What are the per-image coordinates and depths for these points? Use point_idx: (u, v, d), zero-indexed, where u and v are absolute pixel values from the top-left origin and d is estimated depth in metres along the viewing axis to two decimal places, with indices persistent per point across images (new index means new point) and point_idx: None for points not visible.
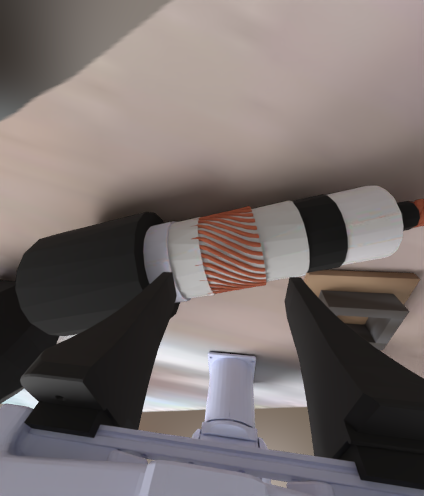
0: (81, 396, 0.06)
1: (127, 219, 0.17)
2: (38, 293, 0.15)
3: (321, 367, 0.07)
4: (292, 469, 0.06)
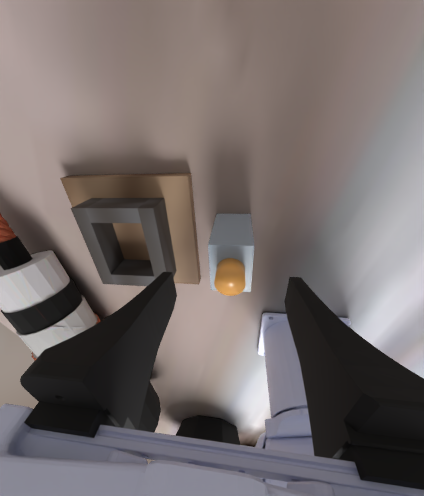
0: (81, 396, 0.06)
1: None
2: None
3: (321, 367, 0.07)
4: (292, 469, 0.06)
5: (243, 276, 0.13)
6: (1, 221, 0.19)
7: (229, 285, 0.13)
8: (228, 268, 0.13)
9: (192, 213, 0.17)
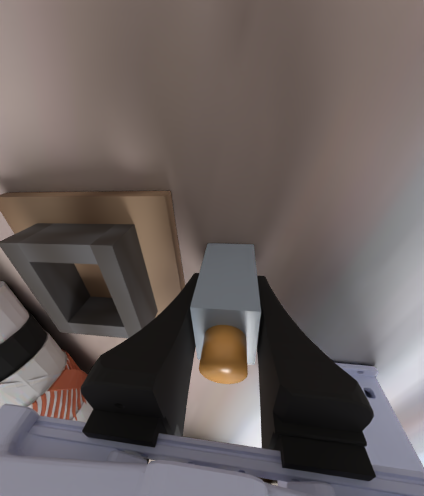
0: (144, 404, 0.06)
1: None
2: None
3: (265, 362, 0.08)
4: (292, 469, 0.06)
5: (244, 361, 0.08)
6: None
7: (222, 373, 0.08)
8: (220, 349, 0.08)
9: (174, 244, 0.13)
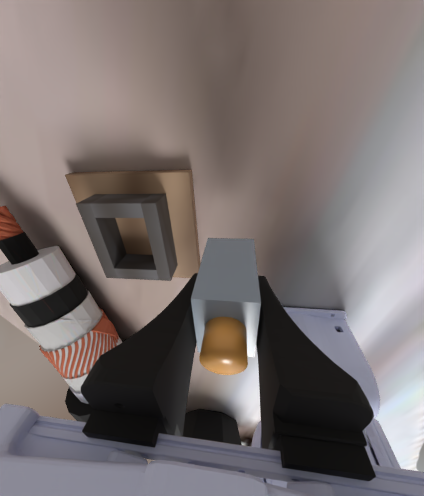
0: (144, 404, 0.06)
1: None
2: None
3: (265, 362, 0.08)
4: (292, 469, 0.06)
5: (244, 352, 0.08)
6: (9, 217, 0.19)
7: (222, 363, 0.08)
8: (221, 339, 0.08)
9: (193, 208, 0.18)
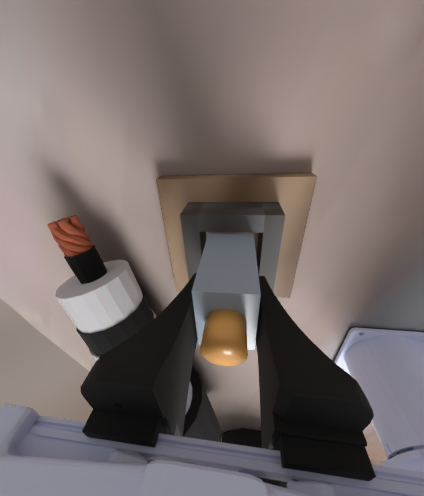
0: (144, 404, 0.06)
1: None
2: None
3: (265, 362, 0.08)
4: (292, 469, 0.06)
5: (244, 342, 0.08)
6: (81, 228, 0.16)
7: (223, 354, 0.09)
8: (221, 330, 0.08)
9: None
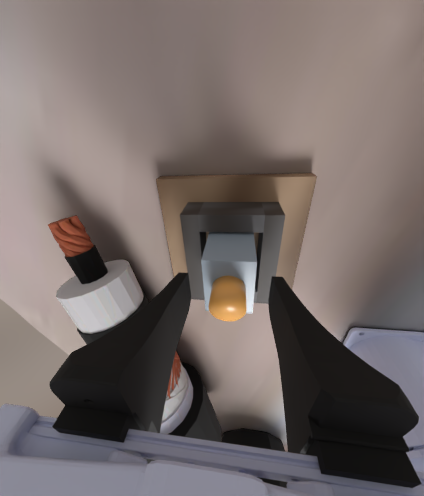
0: (112, 400, 0.06)
1: None
2: None
3: (293, 364, 0.08)
4: (292, 469, 0.06)
5: (244, 299, 0.10)
6: (81, 228, 0.16)
7: (227, 310, 0.11)
8: (225, 290, 0.10)
9: None
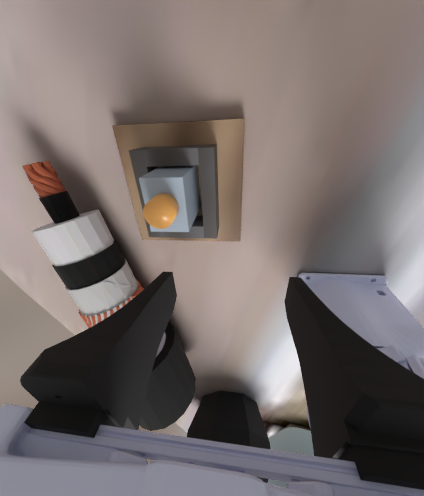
0: (81, 396, 0.06)
1: None
2: None
3: (321, 367, 0.07)
4: (292, 469, 0.06)
5: (170, 206, 0.13)
6: (53, 173, 0.19)
7: (158, 216, 0.13)
8: (155, 198, 0.13)
9: (242, 162, 0.17)
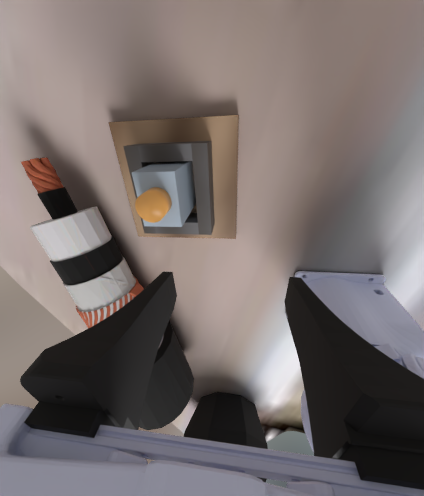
0: (81, 396, 0.06)
1: None
2: None
3: (321, 367, 0.07)
4: (292, 469, 0.06)
5: (162, 199, 0.13)
6: (51, 169, 0.19)
7: (150, 210, 0.13)
8: (147, 192, 0.13)
9: (237, 158, 0.18)
